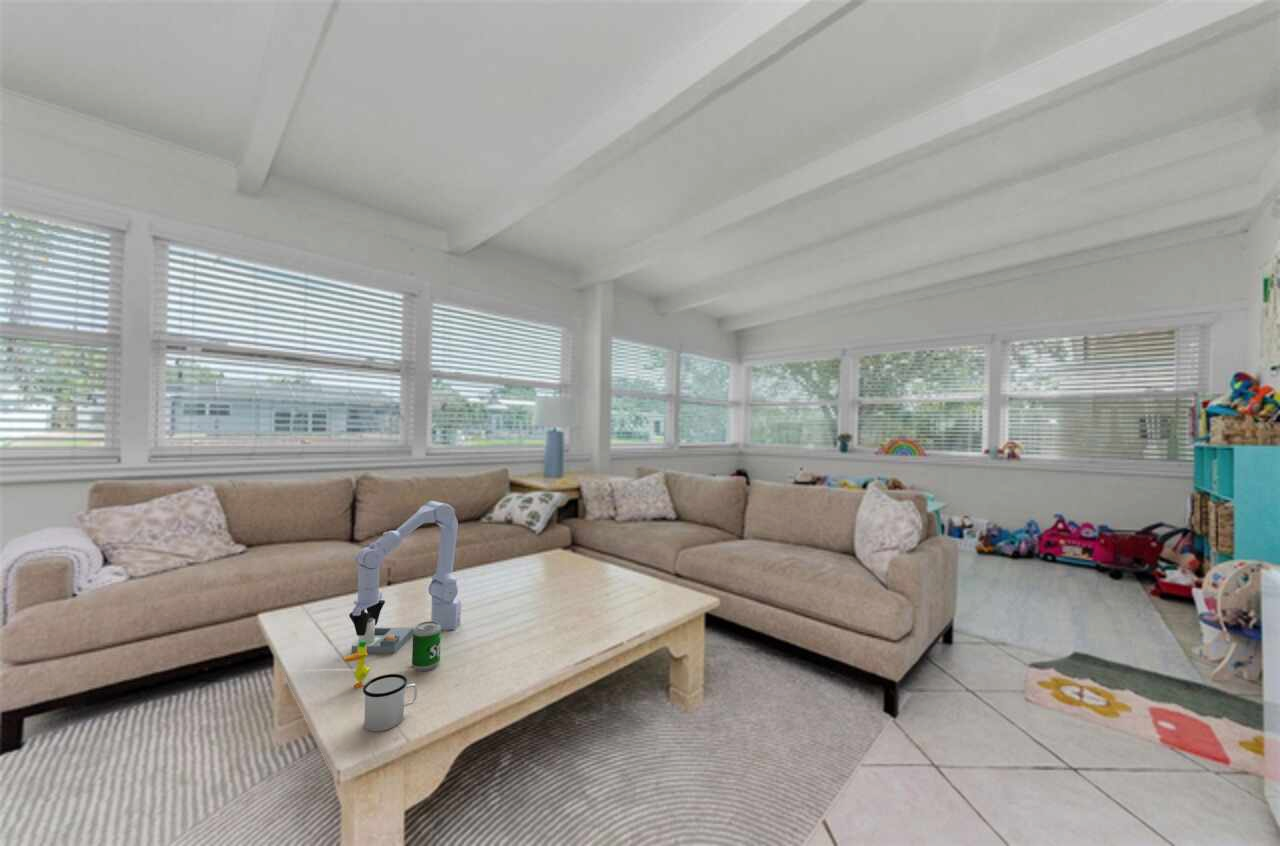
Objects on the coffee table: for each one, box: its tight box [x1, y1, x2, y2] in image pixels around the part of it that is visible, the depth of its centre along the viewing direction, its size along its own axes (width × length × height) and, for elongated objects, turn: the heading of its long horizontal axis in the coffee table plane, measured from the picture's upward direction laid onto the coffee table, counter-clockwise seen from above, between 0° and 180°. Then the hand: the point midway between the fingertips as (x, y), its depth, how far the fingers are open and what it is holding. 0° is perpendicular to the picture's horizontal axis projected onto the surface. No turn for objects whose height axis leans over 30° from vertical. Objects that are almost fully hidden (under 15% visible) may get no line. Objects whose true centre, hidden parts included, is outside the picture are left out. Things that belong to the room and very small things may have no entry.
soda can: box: [411, 620, 442, 672], centre depth 142 cm, size 8×8×12 cm
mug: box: [362, 673, 418, 732], centre depth 117 cm, size 12×10×9 cm
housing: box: [351, 627, 414, 654], centre depth 156 cm, size 13×14×4 cm
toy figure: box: [343, 640, 372, 689], centre depth 131 cm, size 7×4×12 cm, turn 132°
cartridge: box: [357, 617, 376, 644], centre depth 151 cm, size 4×4×7 cm
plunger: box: [385, 635, 395, 641], centre depth 151 cm, size 3×3×2 cm
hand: (367, 629), depth 151 cm, fingers open, 7 cm apart
